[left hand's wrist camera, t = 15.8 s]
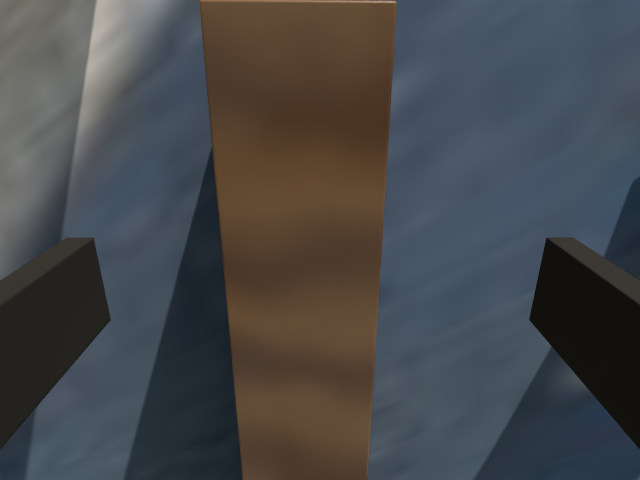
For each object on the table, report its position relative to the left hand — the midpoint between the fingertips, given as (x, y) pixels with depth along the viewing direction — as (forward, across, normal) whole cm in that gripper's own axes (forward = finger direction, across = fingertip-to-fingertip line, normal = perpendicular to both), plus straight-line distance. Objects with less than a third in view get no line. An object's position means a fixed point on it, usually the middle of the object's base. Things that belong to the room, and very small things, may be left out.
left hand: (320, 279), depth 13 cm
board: (+10, -1, -21) cm, 24 cm away
